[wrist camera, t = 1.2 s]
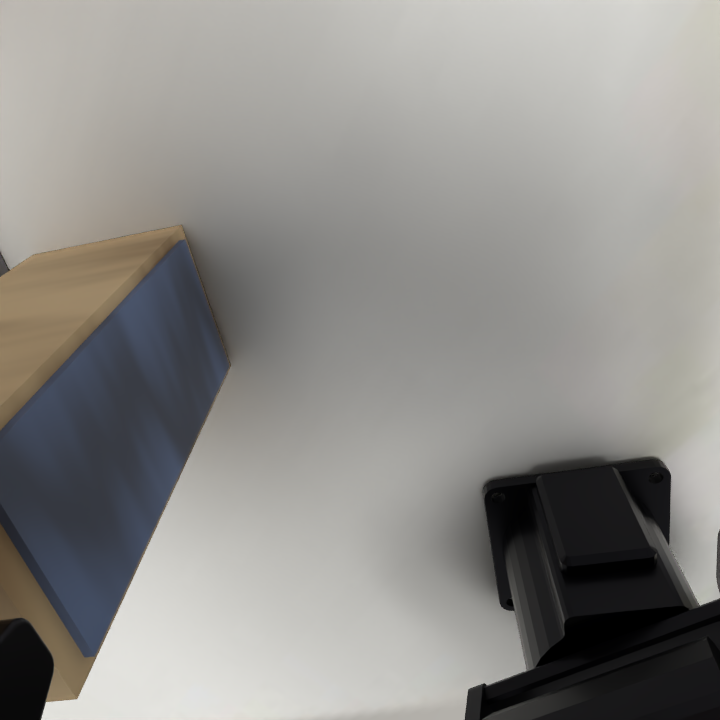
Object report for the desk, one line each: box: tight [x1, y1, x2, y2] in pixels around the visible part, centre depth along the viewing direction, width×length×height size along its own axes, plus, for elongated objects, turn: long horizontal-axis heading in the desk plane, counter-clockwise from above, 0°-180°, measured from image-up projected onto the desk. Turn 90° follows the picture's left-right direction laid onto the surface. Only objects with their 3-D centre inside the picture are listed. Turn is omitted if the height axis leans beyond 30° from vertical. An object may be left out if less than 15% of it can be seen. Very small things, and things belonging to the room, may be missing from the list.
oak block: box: [0, 225, 231, 702], centre depth 16 cm, size 5×5×12 cm
